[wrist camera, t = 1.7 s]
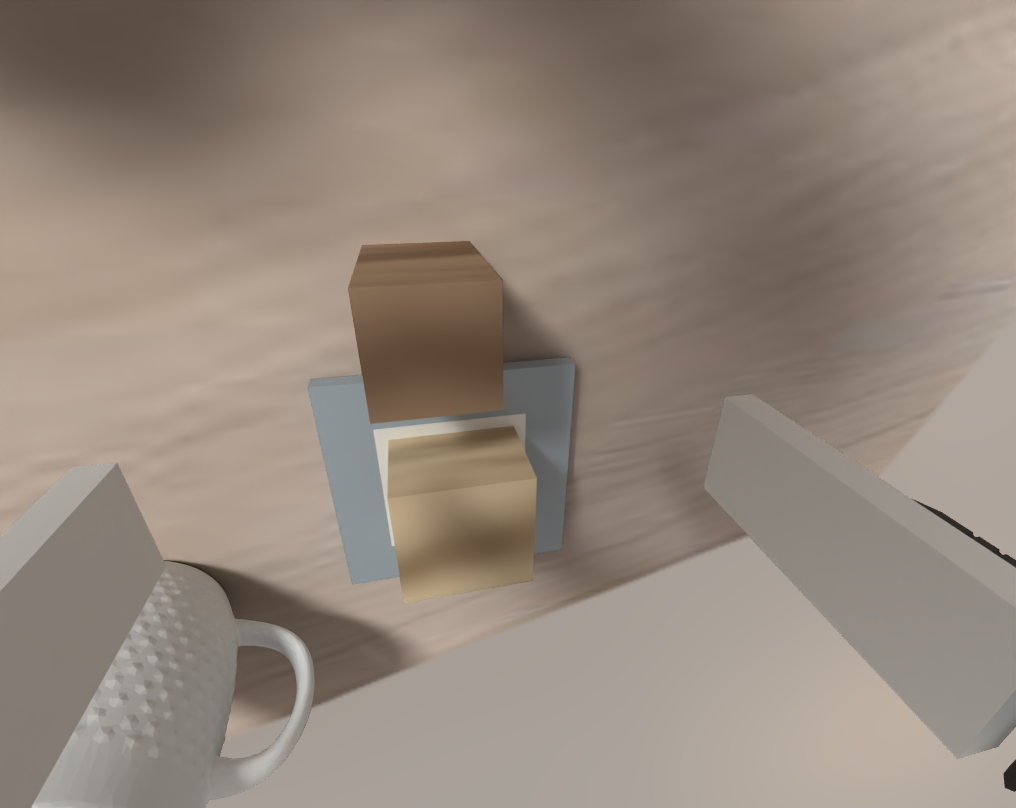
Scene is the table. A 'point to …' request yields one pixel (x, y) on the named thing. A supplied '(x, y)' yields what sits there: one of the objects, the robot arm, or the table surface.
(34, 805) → the mug
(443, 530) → the oak block
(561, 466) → the blueprint board
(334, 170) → the table surface
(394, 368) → the walnut block
